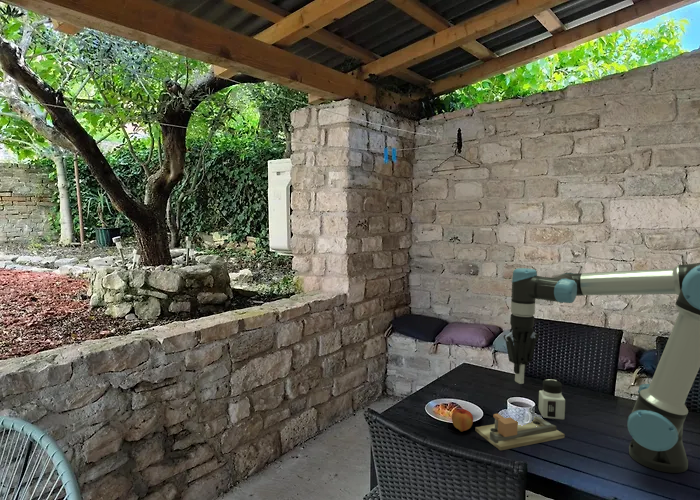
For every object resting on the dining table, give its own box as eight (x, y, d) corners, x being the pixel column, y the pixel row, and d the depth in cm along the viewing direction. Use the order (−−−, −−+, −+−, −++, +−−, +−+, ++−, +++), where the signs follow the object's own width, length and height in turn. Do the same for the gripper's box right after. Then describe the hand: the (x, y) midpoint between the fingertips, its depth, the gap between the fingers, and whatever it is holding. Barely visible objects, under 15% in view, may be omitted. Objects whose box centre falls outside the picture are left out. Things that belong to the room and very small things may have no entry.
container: (564, 419, 166) (566, 385, 165) (542, 417, 168) (543, 384, 167) (559, 410, 174) (560, 378, 173) (538, 409, 175) (539, 376, 174)
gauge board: (564, 437, 153) (564, 427, 153) (500, 450, 145) (500, 439, 144) (535, 420, 166) (535, 410, 166) (475, 430, 158) (475, 420, 158)
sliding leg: (517, 438, 149) (517, 421, 149) (504, 440, 148) (505, 424, 147) (501, 426, 157) (501, 411, 157) (489, 429, 156) (489, 413, 155)
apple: (460, 436, 154) (461, 414, 153) (447, 427, 160) (447, 406, 160) (477, 432, 157) (477, 410, 156) (463, 423, 164) (464, 402, 163)
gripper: (530, 310, 156) (527, 376, 158) (499, 313, 152) (496, 380, 154) (546, 315, 149) (542, 384, 151) (513, 318, 145) (510, 388, 147)
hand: (519, 382), depth 153 cm, fingers closed
